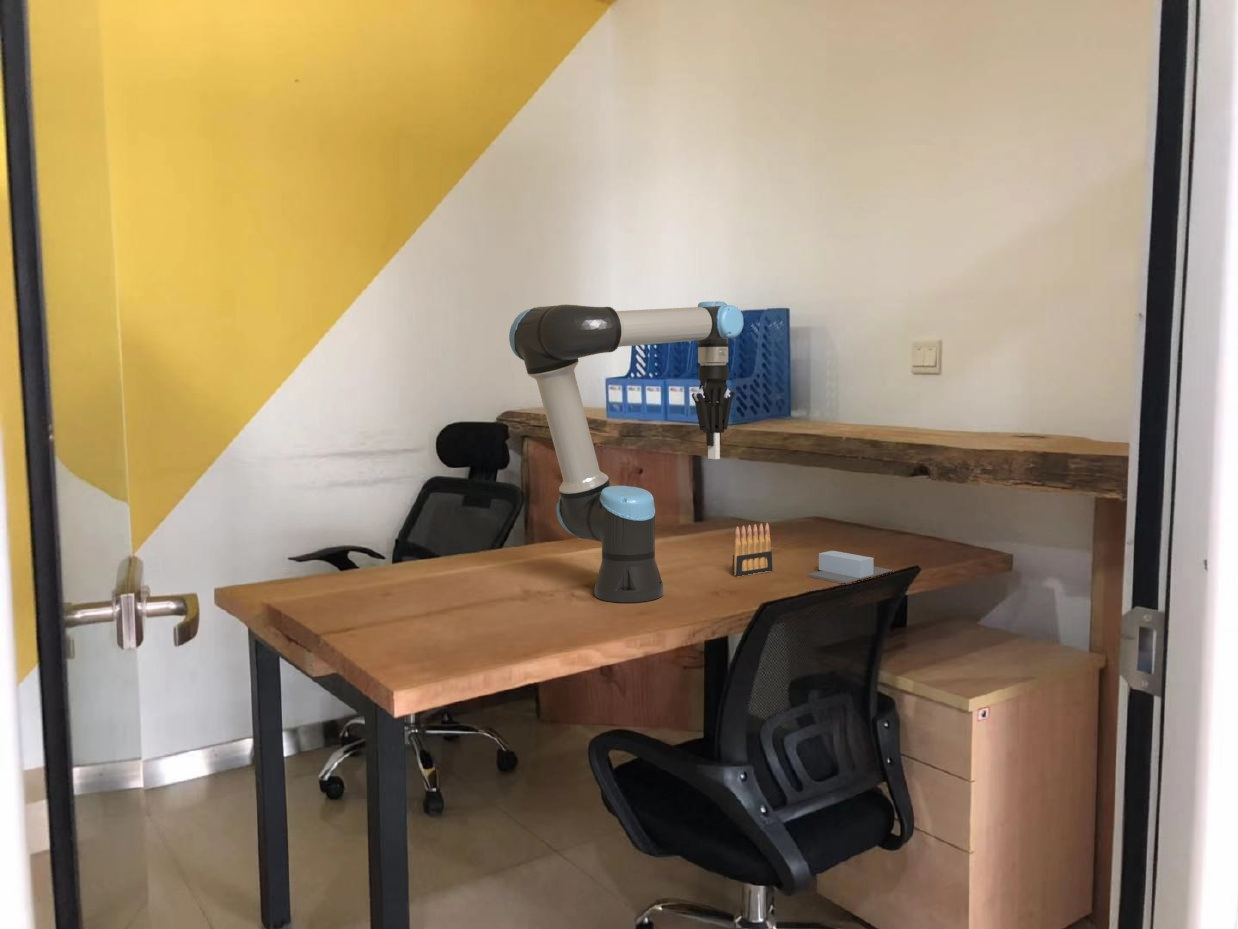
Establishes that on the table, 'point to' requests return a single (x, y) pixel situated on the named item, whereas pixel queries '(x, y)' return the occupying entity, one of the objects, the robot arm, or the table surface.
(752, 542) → the ammunition clip
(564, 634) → the table surface
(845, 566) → the block
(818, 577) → the mat
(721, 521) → the table surface
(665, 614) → the table surface
